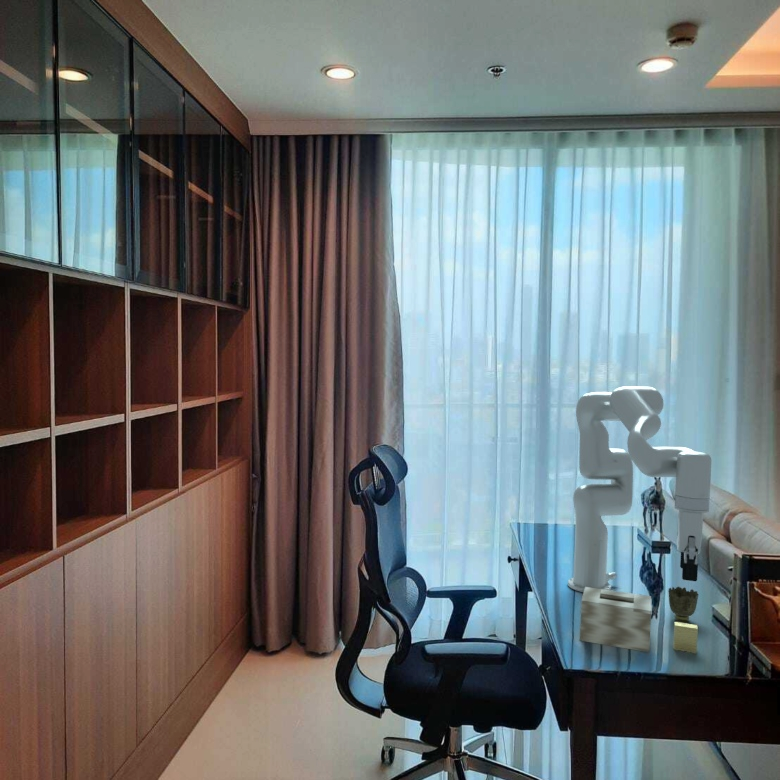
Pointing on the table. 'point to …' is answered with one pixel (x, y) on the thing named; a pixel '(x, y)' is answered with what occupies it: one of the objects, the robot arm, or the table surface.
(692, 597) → the cup
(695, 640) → the yellow flat block
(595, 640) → the box
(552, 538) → the table surface
